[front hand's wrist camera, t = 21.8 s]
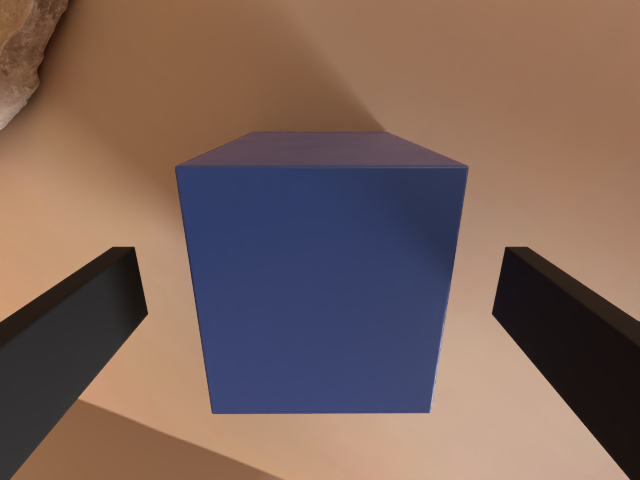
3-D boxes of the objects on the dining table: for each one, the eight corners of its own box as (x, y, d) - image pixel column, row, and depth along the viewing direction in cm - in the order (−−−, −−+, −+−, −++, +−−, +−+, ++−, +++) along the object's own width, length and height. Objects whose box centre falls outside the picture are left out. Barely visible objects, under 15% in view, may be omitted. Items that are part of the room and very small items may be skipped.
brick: (378, 269, 22) (431, 414, 12) (261, 270, 22) (211, 414, 12) (388, 132, 19) (470, 165, 9) (251, 132, 19) (173, 165, 9)
